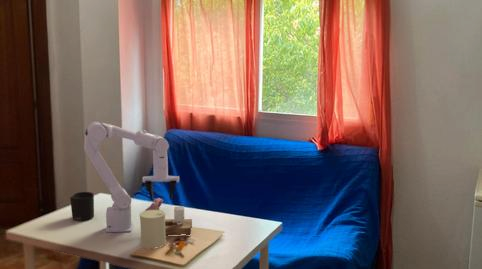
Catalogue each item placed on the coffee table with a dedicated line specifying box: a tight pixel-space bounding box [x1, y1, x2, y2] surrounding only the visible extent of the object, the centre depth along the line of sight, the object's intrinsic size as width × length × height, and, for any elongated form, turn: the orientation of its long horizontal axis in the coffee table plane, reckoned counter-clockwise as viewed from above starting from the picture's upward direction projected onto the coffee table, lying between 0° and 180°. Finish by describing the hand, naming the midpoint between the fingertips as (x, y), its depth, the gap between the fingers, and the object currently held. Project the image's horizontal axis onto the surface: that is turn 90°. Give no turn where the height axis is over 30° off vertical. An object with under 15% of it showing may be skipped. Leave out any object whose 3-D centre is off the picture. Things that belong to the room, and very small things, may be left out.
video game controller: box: [144, 197, 164, 211], centre depth 220 cm, size 10×5×7 cm, turn 169°
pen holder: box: [69, 191, 95, 222], centre depth 212 cm, size 9×9×10 cm
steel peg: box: [173, 206, 185, 225], centre depth 197 cm, size 4×4×10 cm
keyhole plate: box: [165, 218, 193, 236], centre depth 197 cm, size 14×10×3 cm
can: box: [139, 209, 167, 249], centre depth 185 cm, size 9×9×12 cm
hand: (161, 198), depth 205 cm, fingers open, 7 cm apart
